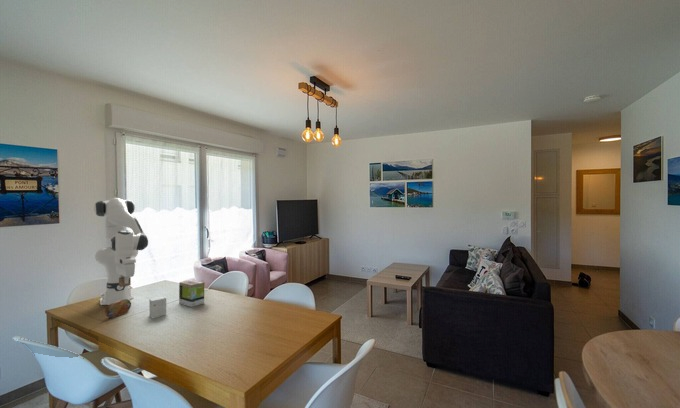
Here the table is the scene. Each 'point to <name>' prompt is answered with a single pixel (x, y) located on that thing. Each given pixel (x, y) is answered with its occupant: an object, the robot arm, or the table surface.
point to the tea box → (191, 293)
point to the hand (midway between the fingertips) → (124, 282)
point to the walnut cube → (121, 282)
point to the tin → (117, 308)
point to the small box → (157, 307)
